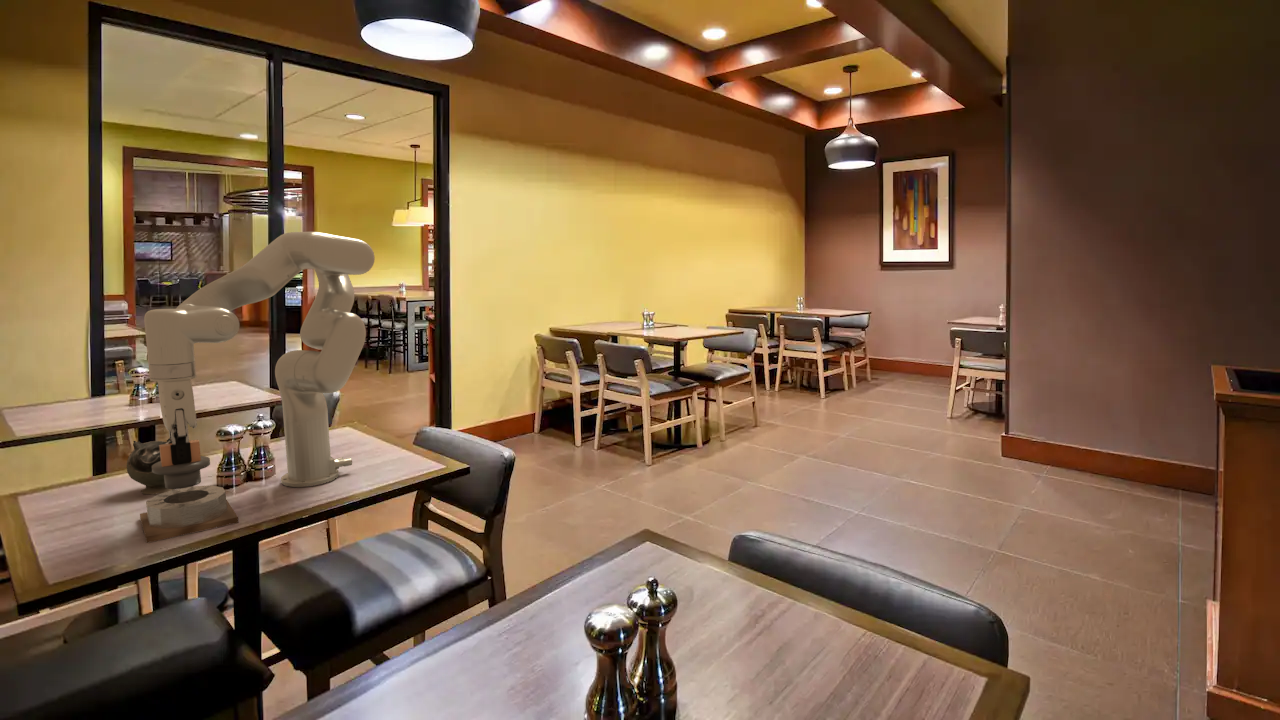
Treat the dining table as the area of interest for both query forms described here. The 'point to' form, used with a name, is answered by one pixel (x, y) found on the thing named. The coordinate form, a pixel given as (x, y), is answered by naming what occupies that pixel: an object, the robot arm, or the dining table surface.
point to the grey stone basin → (186, 506)
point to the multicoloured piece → (181, 467)
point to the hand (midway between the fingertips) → (181, 461)
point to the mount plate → (160, 534)
